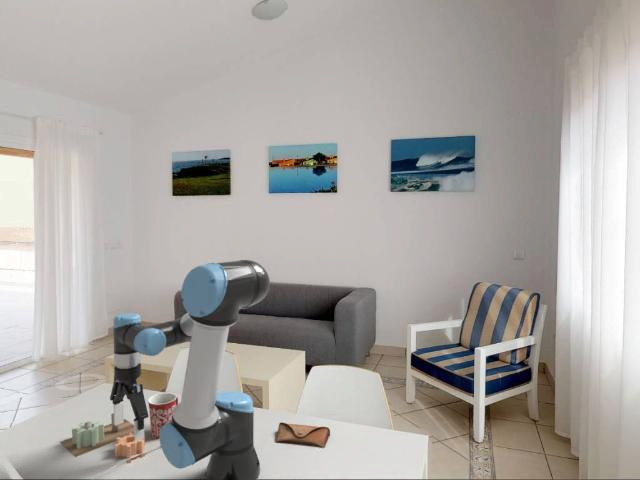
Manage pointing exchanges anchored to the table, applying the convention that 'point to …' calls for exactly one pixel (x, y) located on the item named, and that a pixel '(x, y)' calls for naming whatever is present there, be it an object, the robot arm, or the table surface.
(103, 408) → the table surface
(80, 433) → the gear
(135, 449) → the gear
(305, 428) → the sunglasses case
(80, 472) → the table surface
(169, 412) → the mug
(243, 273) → the robot arm
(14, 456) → the table surface
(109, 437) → the gear board
